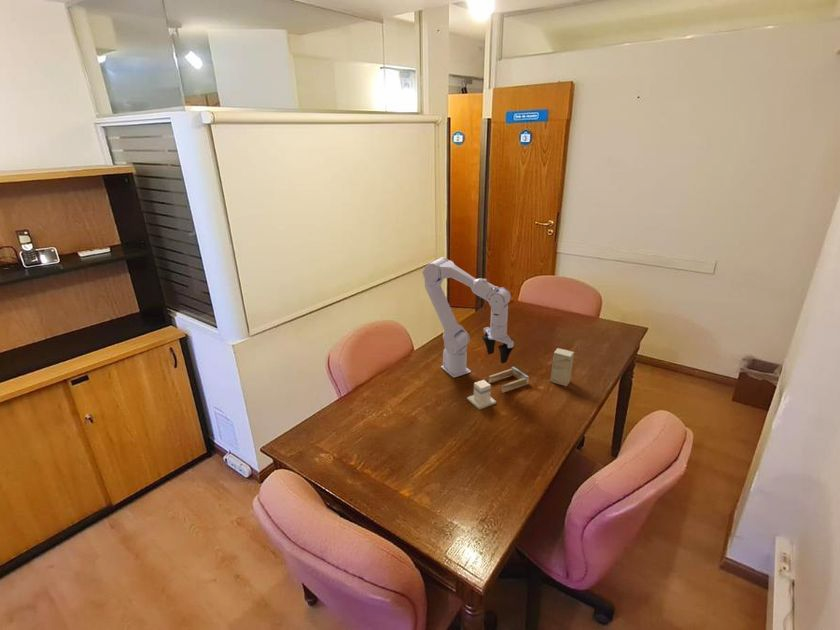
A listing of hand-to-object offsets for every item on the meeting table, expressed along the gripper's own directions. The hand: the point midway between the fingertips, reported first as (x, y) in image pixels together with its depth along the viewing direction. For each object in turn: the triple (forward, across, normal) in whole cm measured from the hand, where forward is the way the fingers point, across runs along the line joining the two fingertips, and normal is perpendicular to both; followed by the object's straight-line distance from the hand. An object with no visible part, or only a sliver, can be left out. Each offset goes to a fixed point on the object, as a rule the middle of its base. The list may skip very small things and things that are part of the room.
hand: (497, 357), depth 158 cm
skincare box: (+10, +12, +20) cm, 25 cm away
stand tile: (+10, +8, -12) cm, 17 cm away
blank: (+9, +8, -12) cm, 17 cm away
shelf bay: (+10, +3, +3) cm, 11 cm away
